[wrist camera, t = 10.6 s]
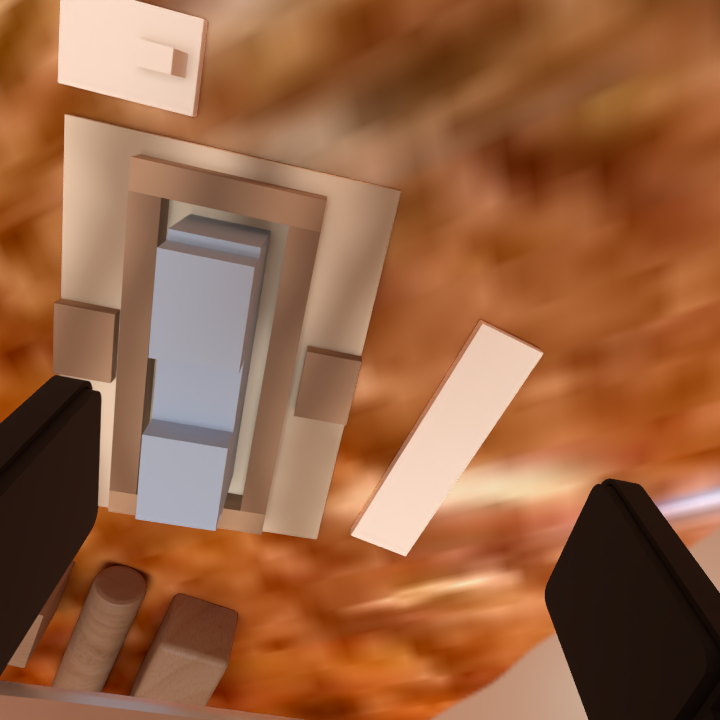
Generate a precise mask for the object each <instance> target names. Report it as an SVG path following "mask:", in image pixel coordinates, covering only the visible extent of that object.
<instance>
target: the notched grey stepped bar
mask: <svg viewBox="0 0 720 720" xmlns="http://www.w3.org/2000/svg"><path fill="white" fill-rule="evenodd" d="M270 234H271V231H270V230H266V229H261V228H256V227H251V226H247V225H242V224H237V223H232V222H228V221H223V220H218V219H213V218H209V217H204V216H199V215H194V214H189V215H188V216H186V217H185V218H183V219H182V220H180V221H179V222H177V223H176V224H174V225H173V226H171V227H170V228H168V237H167V241H165V242H164V243H163V244H161V245H160V246H158V247H157V254H156V267H155V280H154V292H153V305H152V317H151V330H150V343H149V355H148V358H152V359H157V365H156V377H155V388H154V400H153V412H152V419H151V421H150V423H149V424H148V426H147V428H146V429H145V431H144V432H143V434H142V444H141V456H140V469H139V481H138V494H137V507H136V519H138V520H145V521H152V522H159V523H165V524H172V525H179V526H186V527H192V528H199V529H206V530H213V531H216V528H217V524H218V521H219V519H220V518H221V514H222V511H223V508H224V504H225V501H226V497H227V494H228V491H229V487H230V484H231V480H232V477H233V472H234V465H235V459H236V452H237V446H238V439H239V433H240V427H241V420H242V414H243V407H244V401H245V395H246V388H247V382H248V375H249V369H250V362H251V356H252V350H253V343H254V337H255V330H256V324H257V318H258V311H259V305H260V298H261V292H262V285H263V279H264V273H265V266H266V260H267V253H268V247H269V241H270Z"/></svg>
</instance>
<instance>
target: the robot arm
mask: <svg viewBox="0 0 720 720" xmlns="http://www.w3.org/2000/svg"><path fill="white" fill-rule="evenodd" d="M101 404H102V397H101V393H100V392H99V391H96V390H93V387H92V384H91V382H90V381H86V380H81V379H75V378H70V377H65V376H59V375H55V376H53V377H52V378H50V379H49V380H48V381H47V382H46V383H45V384H44V385H43V386H42V387H40V388H39V389H38V390H37V391H36V392H35V393H34V394H33V395H32V396H30V397H29V398H28V399H27V400H26V401H25V402H24V403H23V404H22V405H20V406H19V407H18V408H17V409H16V410H15V411H14V412H13V413H12V414H10V415H9V416H8V417H7V418H6V419H5V420H4V421H3V422H2V423H0V676H1V674H2V672H3V671H4V669H5V668H6V666H7V664H8V663H9V661H10V660H11V658H12V656H13V655H14V653H15V652H16V650H17V648H18V647H19V645H20V644H21V642H22V640H23V639H24V637H25V636H26V634H27V632H28V631H29V629H30V628H31V626H32V624H33V623H34V621H35V620H36V618H37V616H38V615H39V613H40V612H41V610H42V608H43V607H44V605H45V604H46V602H47V600H48V599H49V597H50V596H51V594H52V592H53V591H54V589H55V588H56V586H57V584H58V583H59V581H60V580H61V578H62V576H63V575H64V573H65V572H66V570H67V568H68V567H69V565H70V564H71V562H72V560H73V559H74V557H75V556H76V554H77V552H78V551H79V549H80V548H81V546H82V544H83V543H84V541H85V540H86V538H87V536H88V535H89V533H90V531H91V530H92V528H93V526H94V523H95V520H96V517H97V512H98V492H99V463H100V433H101ZM545 602H546V606H547V609H548V611H549V614H550V617H551V619H552V622H553V625H554V628H555V630H556V633H557V636H558V638H559V641H560V644H561V646H562V649H563V652H564V655H565V657H566V660H567V662H568V666H569V668H570V671H571V674H572V676H573V679H574V682H575V684H576V687H577V690H578V693H579V695H580V698H581V701H582V703H583V706H584V709H585V712H586V714H587V717H588V720H720V593H719V591H718V590H717V589H716V587H715V586H714V584H713V583H712V582H711V581H710V579H709V578H708V576H707V575H706V574H705V572H704V571H703V569H702V568H701V567H700V565H699V564H698V563H697V561H696V560H695V558H694V557H693V556H692V554H691V553H690V552H689V550H688V549H687V548H686V546H685V545H684V543H683V542H682V541H681V539H680V538H679V537H678V535H677V534H676V532H675V531H674V530H673V528H672V527H671V526H670V524H669V523H668V521H667V520H666V519H665V517H664V516H663V515H662V513H661V512H660V511H659V509H658V508H657V506H656V505H655V504H654V502H653V501H652V500H651V498H650V497H649V495H648V494H647V493H646V491H645V490H644V489H643V487H642V486H640V485H639V484H636V483H631V482H626V481H621V480H615V479H606V480H605V481H603V482H602V484H597V485H595V486H594V487H593V489H592V490H591V492H590V494H589V496H588V499H587V501H586V503H585V505H584V507H583V509H582V511H581V513H580V515H579V517H578V520H577V522H576V524H575V526H574V528H573V530H572V532H571V534H570V536H569V538H568V541H567V543H566V545H565V547H564V549H563V551H562V553H561V555H560V557H559V560H558V562H557V564H556V566H555V568H554V570H553V572H552V574H551V576H550V578H549V581H548V583H547V585H546V589H545ZM0 720H303V719H295V718H288V717H281V716H273V715H266V714H258V713H251V712H243V711H236V710H229V709H221V708H214V707H206V706H199V705H191V704H184V703H176V702H169V701H161V700H154V699H146V698H139V697H131V696H124V695H116V694H109V693H101V692H92V691H84V690H75V689H66V688H58V687H49V686H41V685H32V684H23V683H15V682H6V681H0Z"/></svg>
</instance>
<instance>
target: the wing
mask: <svg viewBox="0 0 720 720" xmlns="http://www.w3.org/2000/svg"><path fill="white" fill-rule="evenodd" d="M543 354H544V353H543V352H542V351H541V350H540V349H539V348H537V347H535V346H533V345H531V344H529V343H527V342H525V341H523V340H521V339H519V338H517V337H515V336H513V335H511V334H508V333H506V332H504V331H502V330H500V329H498V328H496V327H494V326H492V325H490V324H488V323H486V322H484V321H482V320H479V322H478V324H477V325H476V327H475V328H474V330H473V332H472V333H471V335H470V337H469V338H468V340H467V341H466V343H465V345H464V346H463V348H462V349H461V351H460V353H459V354H458V356H457V358H456V359H455V361H454V362H453V364H452V366H451V367H450V369H449V370H448V372H447V374H446V375H445V377H444V379H443V380H442V382H441V383H440V385H439V387H438V388H437V390H436V391H435V393H434V395H433V396H432V398H431V400H430V401H429V403H428V404H427V406H426V408H425V409H424V411H423V412H422V414H421V416H420V417H419V419H418V421H417V422H416V424H415V425H414V427H413V429H412V430H411V432H410V433H409V435H408V437H407V438H406V440H405V442H404V443H403V445H402V446H401V448H400V450H399V451H398V453H397V454H396V456H395V458H394V459H393V461H392V463H391V464H390V466H389V467H388V469H387V471H386V472H385V474H384V475H383V477H382V479H381V480H380V482H379V484H378V485H377V487H376V488H375V490H374V492H373V493H372V495H371V496H370V498H369V500H368V501H367V503H366V504H365V506H364V508H363V509H362V511H361V513H360V514H359V516H358V517H357V519H356V521H355V522H354V524H353V525H352V527H351V536H354V537H357V538H359V539H362V540H364V541H367V542H370V543H372V544H375V545H377V546H380V547H383V548H385V549H388V550H390V551H393V552H396V553H398V554H401V555H404V556H406V555H407V554H408V552H409V551H410V549H411V548H412V546H413V545H414V543H415V542H416V540H417V539H418V537H419V536H420V534H421V533H422V532H423V530H424V529H425V527H426V526H427V524H428V523H429V521H430V520H431V518H432V517H433V515H434V514H435V512H436V511H437V509H438V508H439V507H440V505H441V504H442V502H443V501H444V499H445V498H446V496H447V495H448V493H449V492H450V490H451V489H452V487H453V486H454V484H455V483H456V482H457V480H458V479H459V477H460V476H461V474H462V473H463V471H464V470H465V468H466V467H467V465H468V464H469V462H470V461H471V459H472V458H473V457H474V455H475V454H476V452H477V451H478V449H479V448H480V446H481V445H482V443H483V442H484V440H485V439H486V437H487V436H488V434H489V433H490V432H491V430H492V429H493V427H494V426H495V424H496V423H497V421H498V420H499V418H500V417H501V415H502V414H503V412H504V411H505V409H506V408H507V407H508V405H509V404H510V402H511V401H512V399H513V398H514V396H515V395H516V393H517V392H518V390H519V389H520V387H521V386H522V384H523V383H524V382H525V380H526V379H527V377H528V376H529V374H530V373H531V371H532V370H533V368H534V367H535V365H536V364H537V362H538V361H539V360H540V358H541V357H542V355H543Z"/></svg>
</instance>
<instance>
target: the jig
mask: <svg viewBox="0 0 720 720" xmlns="http://www.w3.org/2000/svg"><path fill="white" fill-rule="evenodd" d="M400 194H401V191H400V190H397V189H393V188H389V187H384V186H380V185H375V184H371V183H367V182H362V181H358V180H354V179H349V178H345V177H341V176H336V175H332V174H328V173H323V172H319V171H315V170H310V169H306V168H302V167H297V166H293V165H288V164H284V163H280V162H275V161H271V160H267V159H262V158H258V157H254V156H249V155H245V154H241V153H236V152H232V151H228V150H223V149H219V148H215V147H210V146H206V145H201V144H197V143H193V142H188V141H184V140H180V139H175V138H171V137H167V136H162V135H158V134H154V133H149V132H145V131H141V130H136V129H132V128H127V127H123V126H119V125H114V124H110V123H106V122H101V121H97V120H93V119H88V118H84V117H80V116H75V115H71V114H65V129H64V180H63V231H62V283H61V299H59V300H58V301H56V302H55V303H54V345H53V373H55V374H60V376H65V377H70V378H75V379H81V380H86V381H90V382H91V384H92V387H93V390H96V391H99V392H100V393H101V397H102V404H101V433H100V463H99V492H98V506H103V507H108V511H109V512H116V513H123V514H129V515H136V507H137V494H138V481H139V469H140V456H141V444H142V434H143V432H144V431H145V429H146V428H147V426H148V424H149V423H150V421H151V419H152V412H153V400H154V388H155V377H156V365H157V359H152V358H148V355H149V343H150V330H151V317H152V305H153V292H154V280H155V267H156V254H157V247H158V246H160V245H161V244H163V243H164V242H165V241H167V237H168V228H170V227H171V226H173V225H174V224H176V223H177V222H179V221H180V220H182V219H183V218H185V217H186V216H188V215H189V214H194V215H199V216H204V217H209V218H213V219H218V220H223V221H228V222H232V223H237V224H242V225H247V226H251V227H256V228H261V229H266V230H270V231H271V234H270V241H269V247H268V253H267V260H266V266H265V273H264V279H263V285H262V292H261V298H260V305H259V311H258V318H257V324H256V330H255V337H254V343H253V350H252V356H251V362H250V369H249V375H248V382H247V388H246V395H245V401H244V407H243V414H242V420H241V427H240V433H239V439H238V446H237V452H236V459H235V465H234V472H233V477H232V480H231V484H230V487H229V491H228V494H227V497H226V501H225V504H224V508H223V511H222V514H221V518H220V519H219V521H218V524H217V528H221V529H227V530H234V531H241V532H247V533H254V534H260V535H262V531H266V532H272V533H279V534H285V535H292V536H298V537H305V538H311V539H317V536H318V532H319V528H320V523H321V519H322V515H323V511H324V507H325V503H326V499H327V495H328V491H329V486H330V482H331V478H332V474H333V470H334V466H335V462H336V458H337V454H338V449H339V445H340V441H341V437H342V433H343V429H344V425H346V424H347V420H348V416H349V412H350V408H351V404H352V399H353V395H354V391H355V387H356V383H357V379H358V375H359V371H360V367H361V363H362V360H361V355H362V351H363V347H364V342H365V338H366V334H367V330H368V326H369V322H370V318H371V314H372V310H373V305H374V301H375V297H376V293H377V289H378V285H379V281H380V277H381V272H382V268H383V264H384V260H385V256H386V252H387V248H388V244H389V240H390V235H391V231H392V227H393V223H394V219H395V215H396V211H397V207H398V203H399V198H400Z"/></svg>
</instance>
